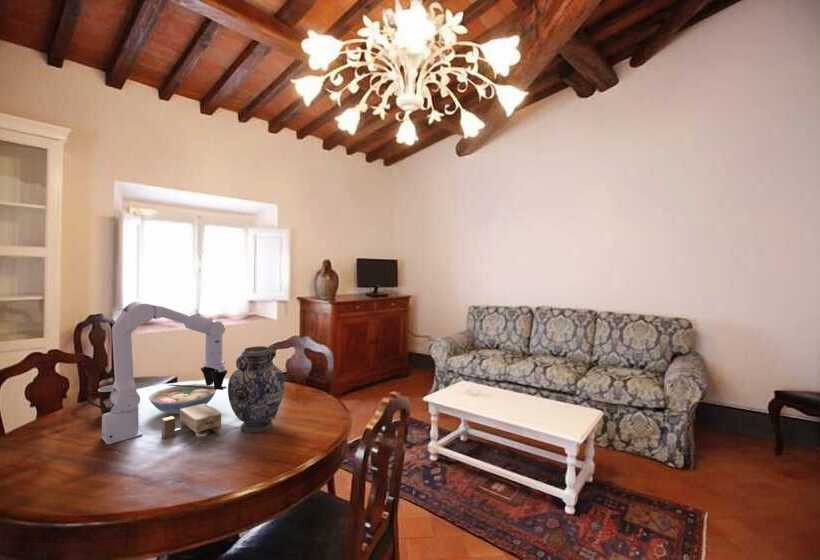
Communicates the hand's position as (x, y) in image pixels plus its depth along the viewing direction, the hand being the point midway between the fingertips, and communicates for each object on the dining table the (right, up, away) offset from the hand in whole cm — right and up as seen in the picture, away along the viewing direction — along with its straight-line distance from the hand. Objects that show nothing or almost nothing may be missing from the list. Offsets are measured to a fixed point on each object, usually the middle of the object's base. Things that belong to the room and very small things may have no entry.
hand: (213, 387), depth 146 cm
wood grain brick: (-1, -10, -17) cm, 20 cm away
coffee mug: (-38, -10, -3) cm, 40 cm away
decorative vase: (+21, -11, -12) cm, 27 cm away
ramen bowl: (-12, -10, +1) cm, 16 cm away
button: (+6, -11, -19) cm, 23 cm away
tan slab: (+4, -11, -16) cm, 20 cm away
